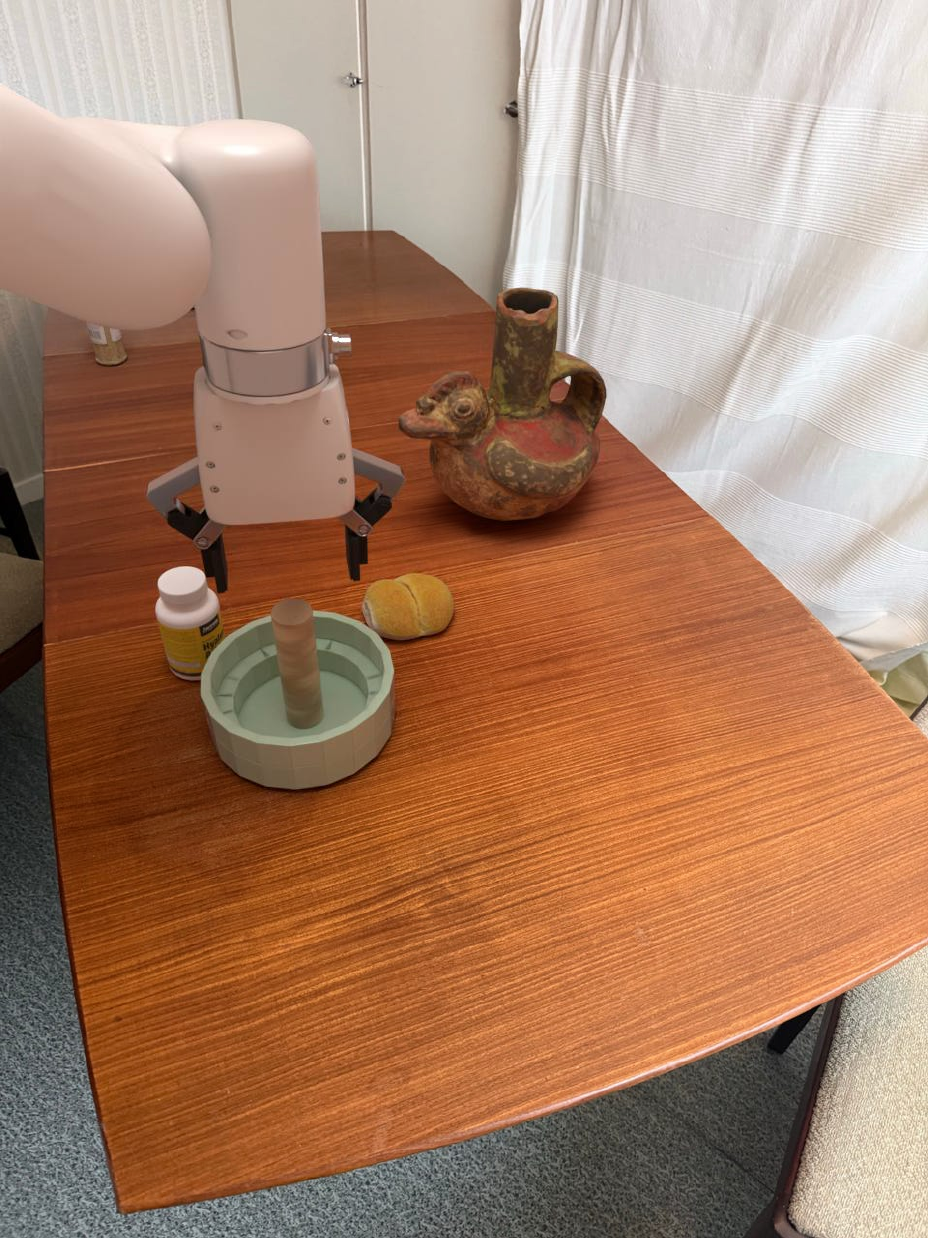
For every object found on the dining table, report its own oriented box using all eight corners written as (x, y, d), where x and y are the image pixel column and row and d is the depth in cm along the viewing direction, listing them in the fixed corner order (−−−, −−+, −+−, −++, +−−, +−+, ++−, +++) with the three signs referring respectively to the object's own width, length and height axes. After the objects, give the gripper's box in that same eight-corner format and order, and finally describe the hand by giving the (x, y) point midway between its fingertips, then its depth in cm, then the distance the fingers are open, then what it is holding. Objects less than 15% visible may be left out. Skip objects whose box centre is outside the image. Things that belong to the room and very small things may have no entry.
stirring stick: (287, 731, 71) (271, 627, 63) (285, 704, 73) (269, 600, 65) (325, 726, 71) (314, 622, 63) (322, 699, 74) (310, 595, 66)
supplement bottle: (217, 686, 75) (198, 604, 69) (160, 678, 76) (136, 595, 69) (238, 646, 79) (222, 564, 73) (184, 638, 80) (163, 557, 73)
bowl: (212, 807, 65) (198, 758, 61) (213, 669, 77) (202, 620, 73) (407, 777, 68) (407, 729, 64) (381, 649, 80) (379, 601, 76)
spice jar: (133, 360, 124) (111, 268, 115) (104, 369, 122) (79, 275, 113) (118, 350, 127) (96, 259, 118) (90, 358, 124) (64, 266, 115)
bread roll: (465, 631, 82) (467, 600, 79) (378, 651, 79) (377, 620, 77) (436, 581, 88) (437, 550, 85) (354, 599, 85) (352, 568, 82)
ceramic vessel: (369, 502, 98) (360, 288, 82) (548, 451, 109) (572, 252, 92) (440, 582, 87) (446, 354, 71) (631, 517, 98) (675, 305, 81)
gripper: (396, 327, 55) (395, 537, 67) (122, 335, 52) (170, 555, 63) (415, 376, 50) (411, 596, 61) (111, 389, 46) (165, 619, 58)
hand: (289, 575), depth 62 cm, fingers open, 9 cm apart
